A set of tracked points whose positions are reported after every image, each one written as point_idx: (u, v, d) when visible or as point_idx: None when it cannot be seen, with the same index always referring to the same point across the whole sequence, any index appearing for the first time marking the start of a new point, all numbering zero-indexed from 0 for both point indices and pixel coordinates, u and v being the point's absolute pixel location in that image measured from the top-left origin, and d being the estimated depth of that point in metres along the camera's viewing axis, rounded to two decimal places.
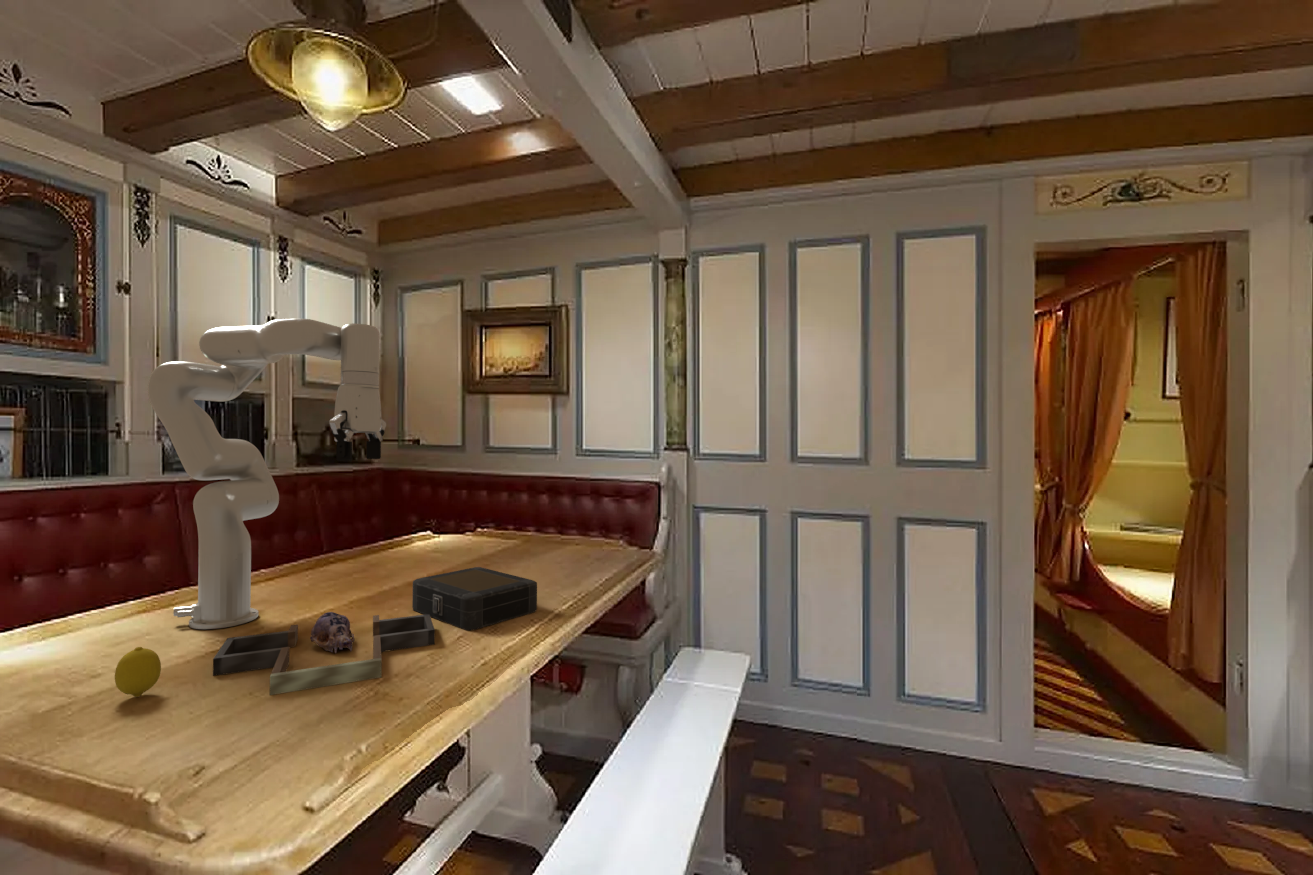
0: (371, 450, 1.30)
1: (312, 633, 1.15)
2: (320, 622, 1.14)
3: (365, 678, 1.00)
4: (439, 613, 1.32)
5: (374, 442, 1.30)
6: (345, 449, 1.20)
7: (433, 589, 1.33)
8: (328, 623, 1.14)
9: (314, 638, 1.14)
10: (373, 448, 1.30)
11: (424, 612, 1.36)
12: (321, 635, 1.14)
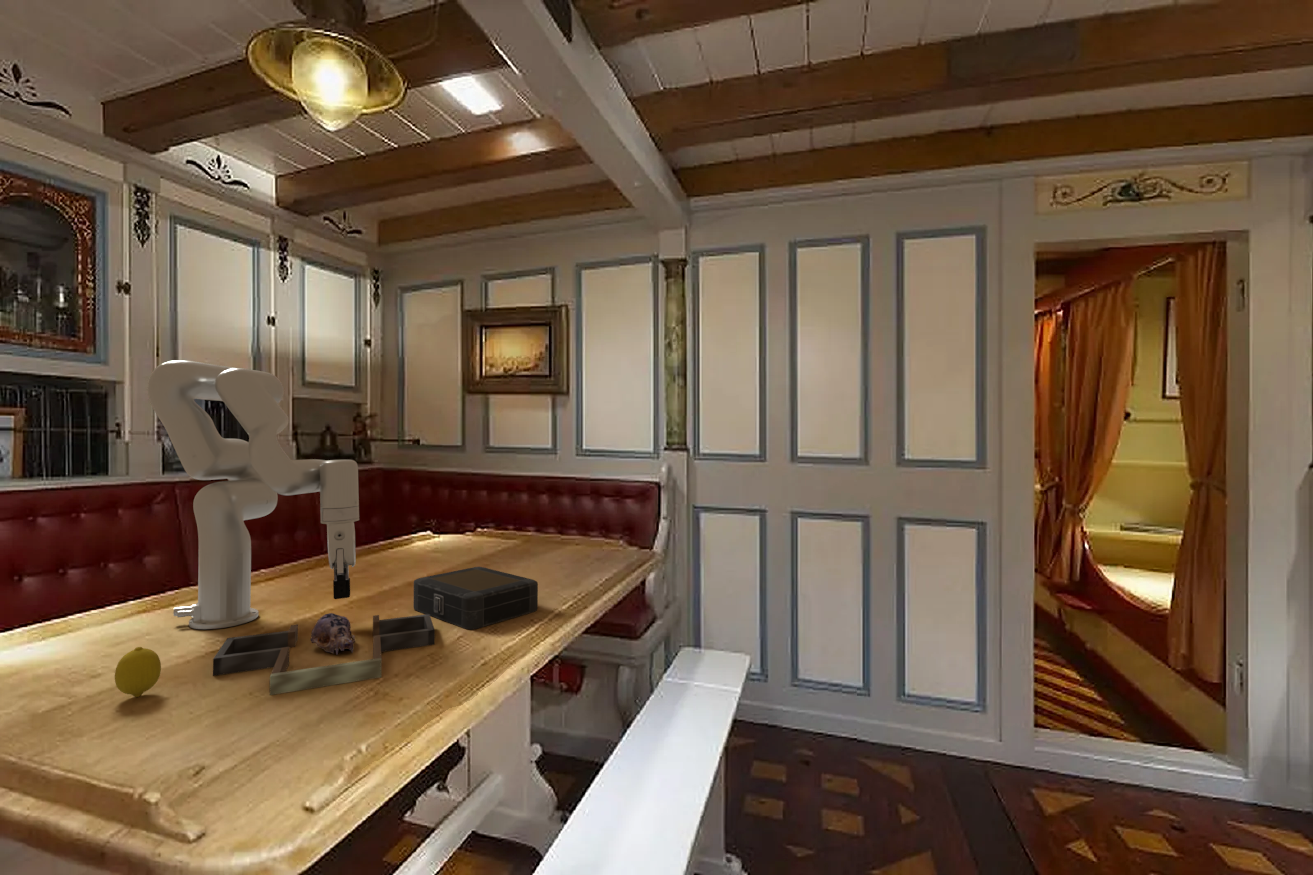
0: None
1: (312, 634, 1.14)
2: (320, 623, 1.14)
3: (365, 678, 1.00)
4: (440, 612, 1.32)
5: None
6: None
7: (434, 589, 1.34)
8: (329, 625, 1.14)
9: (314, 640, 1.13)
10: None
11: (425, 611, 1.36)
12: (322, 636, 1.13)
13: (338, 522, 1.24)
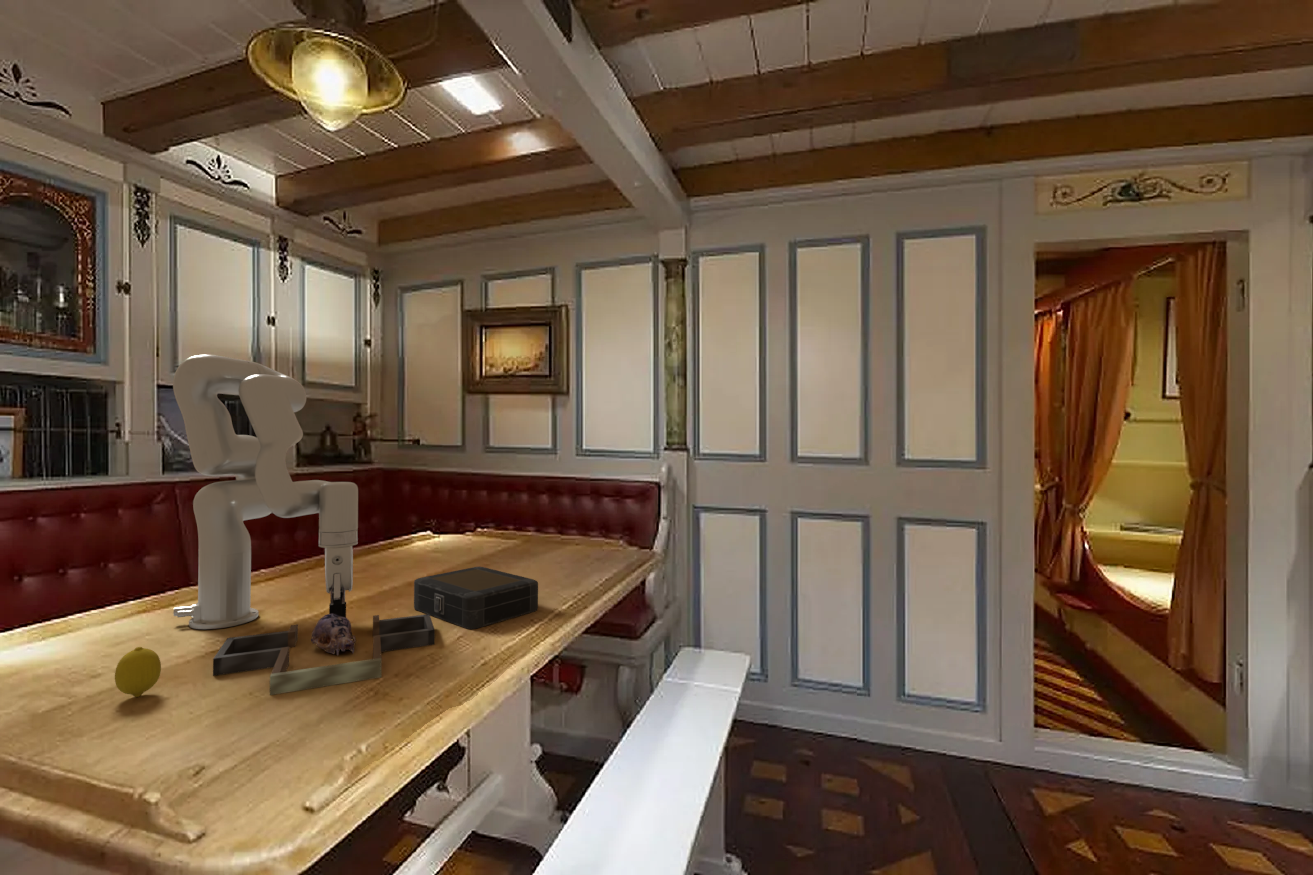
0: None
1: (313, 635, 1.14)
2: (321, 624, 1.13)
3: (365, 678, 1.00)
4: (441, 612, 1.32)
5: None
6: None
7: (435, 588, 1.34)
8: (330, 625, 1.13)
9: (315, 640, 1.12)
10: None
11: (426, 611, 1.36)
12: (322, 637, 1.12)
13: (336, 546, 1.23)
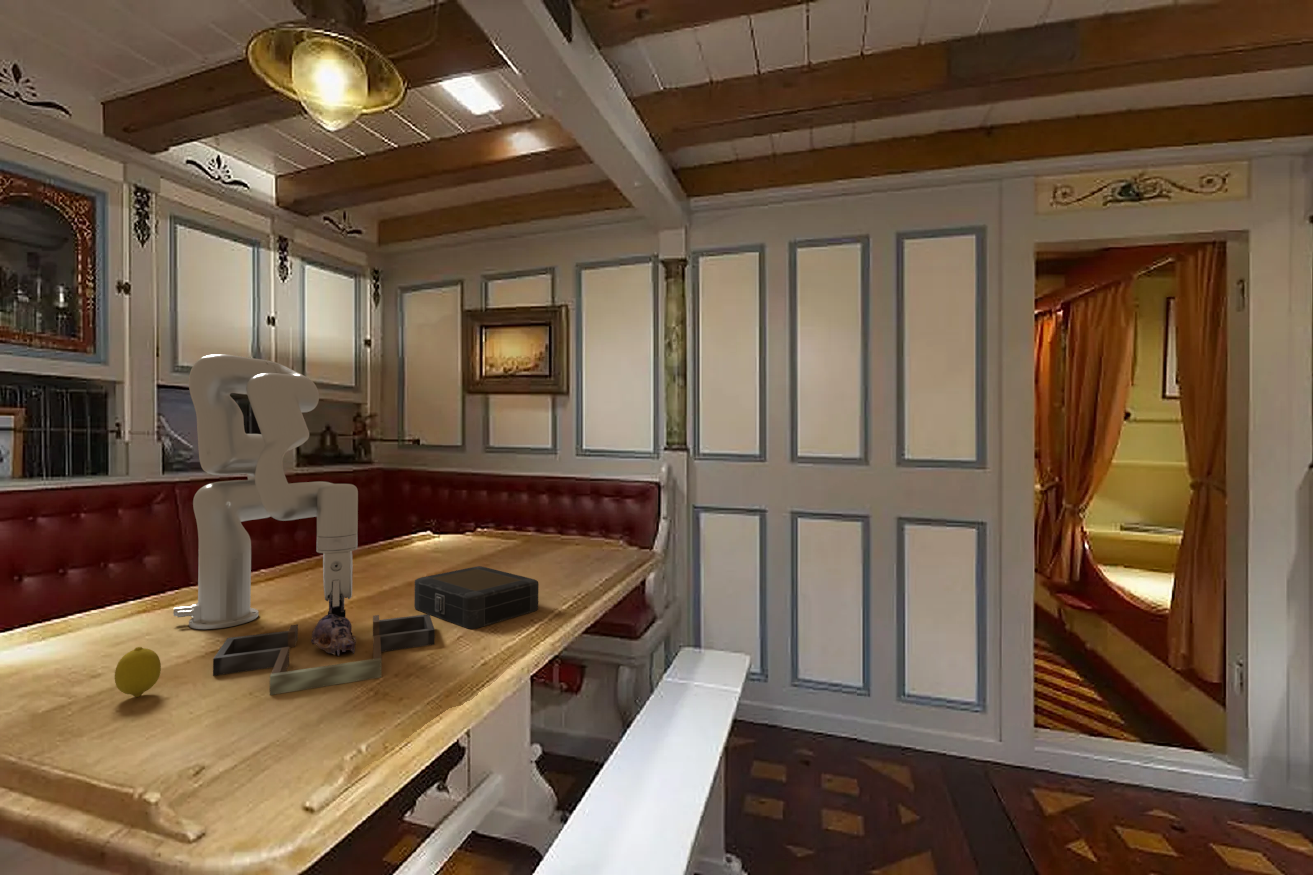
0: None
1: (313, 636, 1.13)
2: (321, 624, 1.13)
3: (365, 678, 1.00)
4: (441, 612, 1.32)
5: None
6: None
7: (436, 588, 1.34)
8: (330, 626, 1.13)
9: (315, 641, 1.12)
10: None
11: (426, 611, 1.37)
12: (323, 638, 1.12)
13: (335, 551, 1.17)
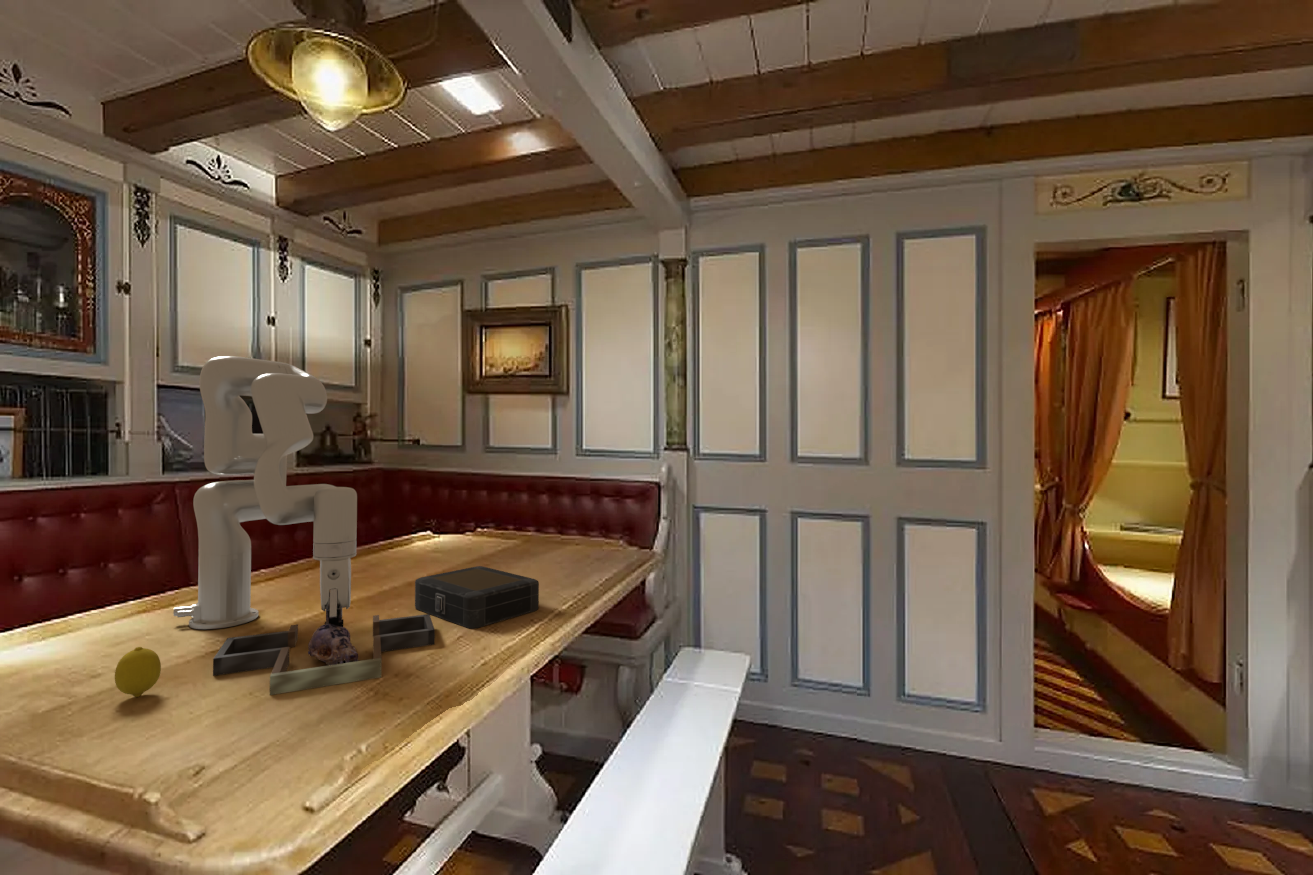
0: None
1: (310, 647, 1.07)
2: (320, 635, 1.07)
3: (365, 678, 1.00)
4: (442, 612, 1.33)
5: None
6: None
7: (436, 588, 1.34)
8: (329, 636, 1.07)
9: (314, 652, 1.06)
10: None
11: (427, 611, 1.37)
12: (322, 649, 1.06)
13: (333, 559, 1.11)
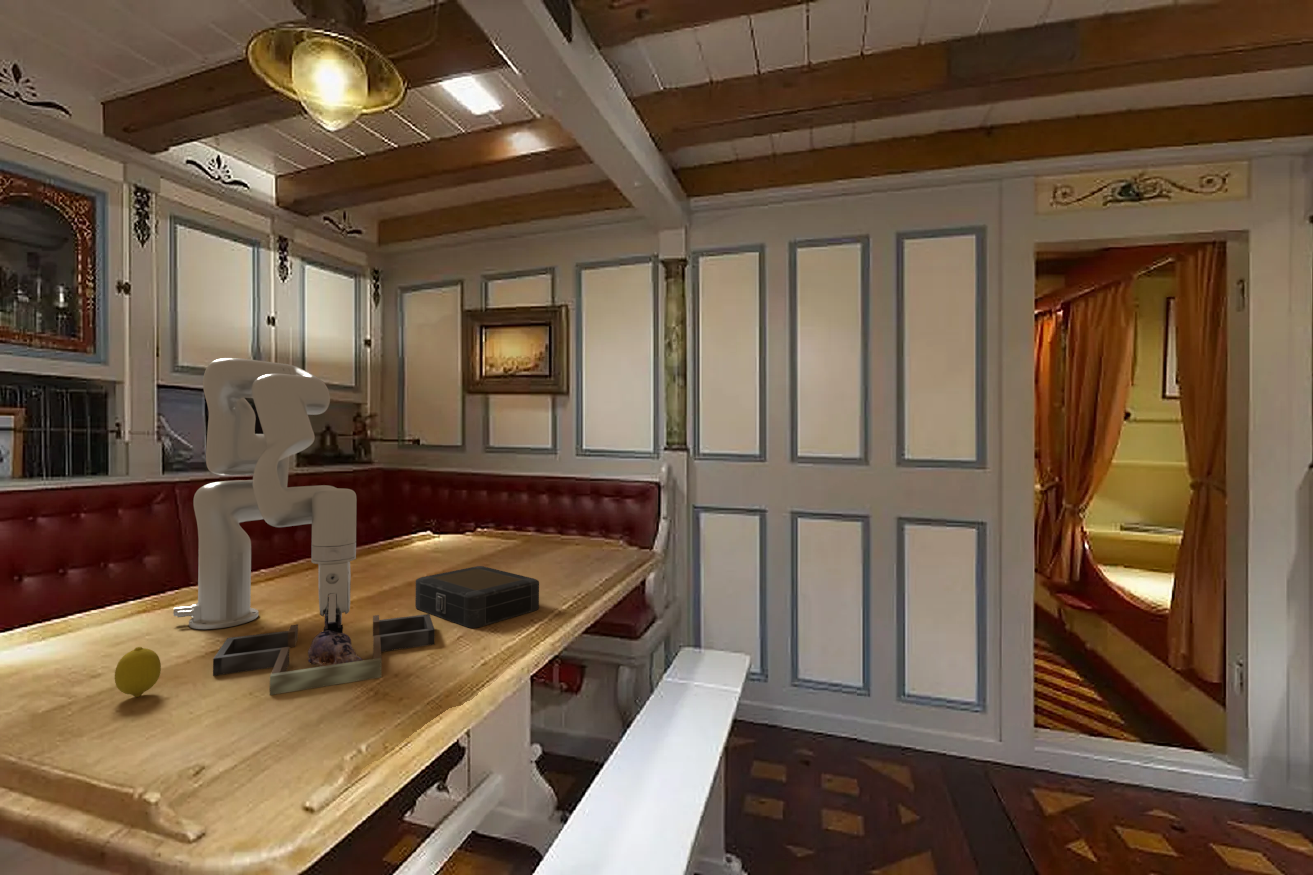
0: None
1: (310, 655, 1.04)
2: (321, 642, 1.04)
3: (365, 678, 1.00)
4: (442, 611, 1.33)
5: None
6: None
7: (437, 588, 1.35)
8: (332, 643, 1.04)
9: (315, 660, 1.03)
10: None
11: (427, 610, 1.37)
12: (324, 656, 1.03)
13: (331, 562, 1.08)
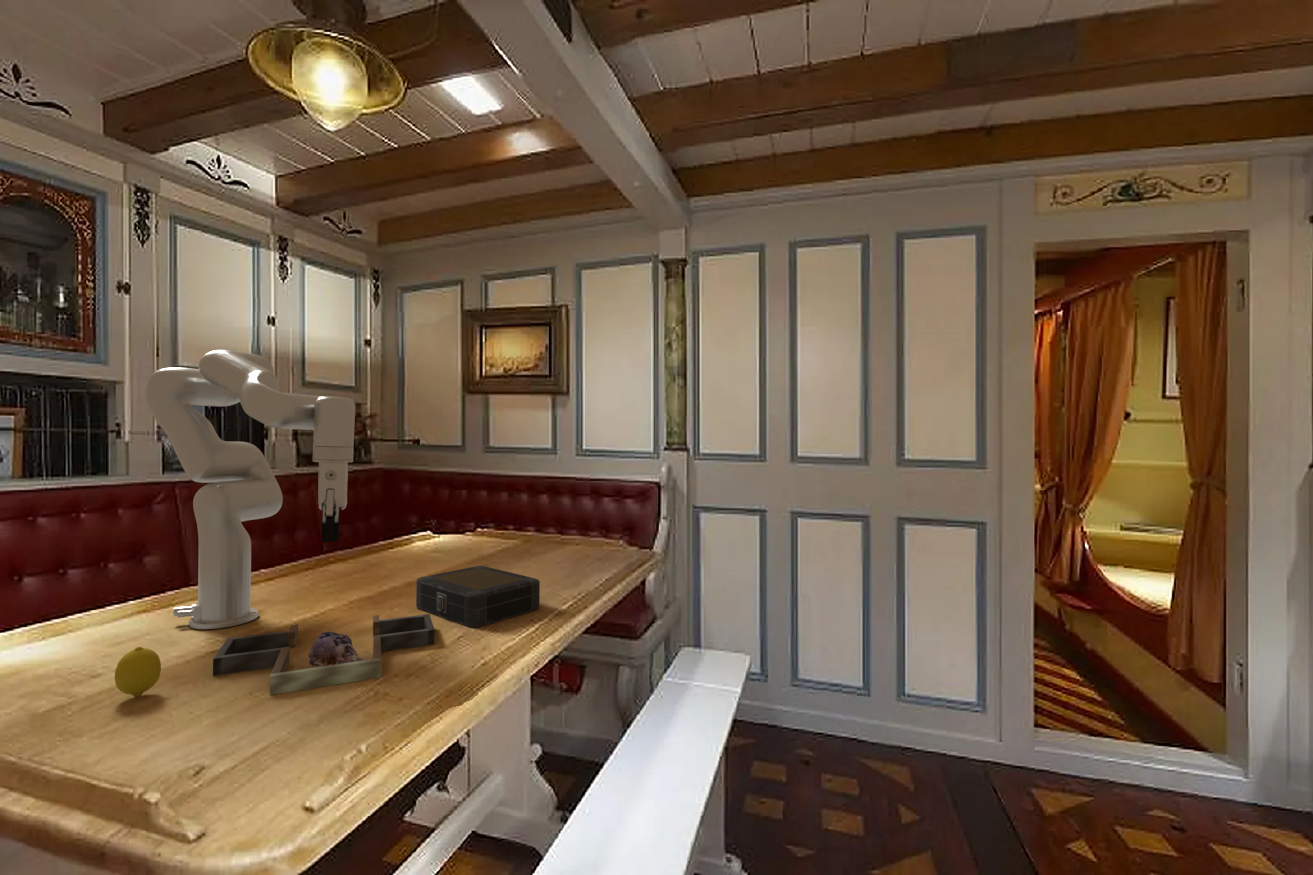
0: None
1: (311, 656, 1.03)
2: (322, 643, 1.03)
3: (365, 678, 1.00)
4: (443, 611, 1.33)
5: None
6: None
7: (437, 587, 1.35)
8: (333, 644, 1.03)
9: (317, 662, 1.02)
10: None
11: (428, 610, 1.37)
12: (325, 657, 1.02)
13: (330, 461, 1.18)
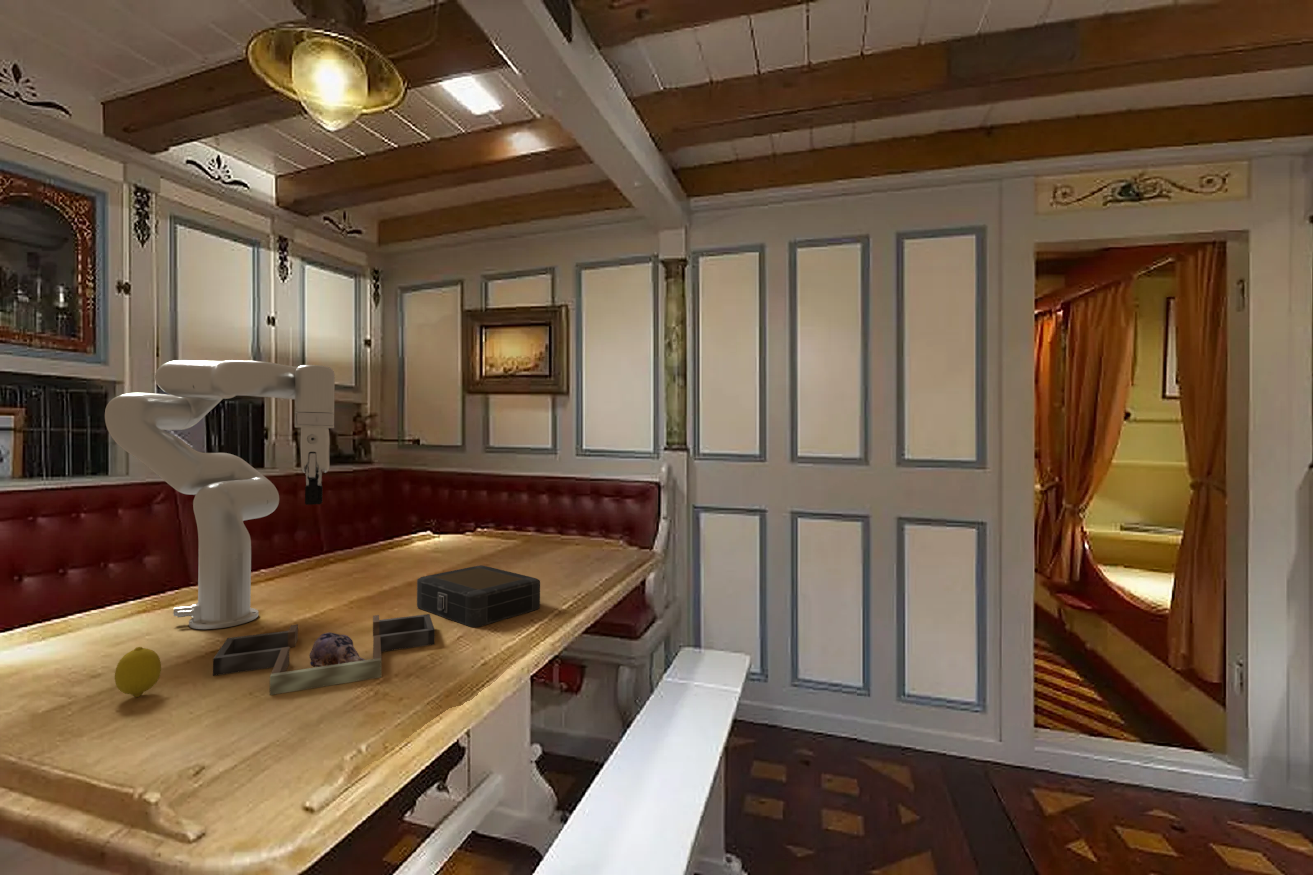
0: None
1: (312, 658, 1.02)
2: (324, 644, 1.02)
3: (365, 678, 1.00)
4: (444, 610, 1.34)
5: None
6: None
7: (438, 587, 1.35)
8: (334, 645, 1.03)
9: (318, 663, 1.01)
10: None
11: (429, 610, 1.38)
12: (327, 658, 1.02)
13: (312, 426, 1.24)
